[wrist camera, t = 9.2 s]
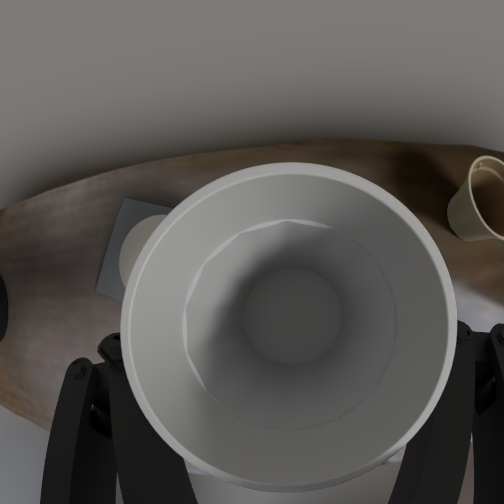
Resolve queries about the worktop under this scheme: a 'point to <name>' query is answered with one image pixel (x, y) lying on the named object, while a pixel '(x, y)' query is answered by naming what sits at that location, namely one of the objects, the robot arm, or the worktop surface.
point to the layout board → (127, 244)
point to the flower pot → (479, 202)
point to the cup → (288, 327)
